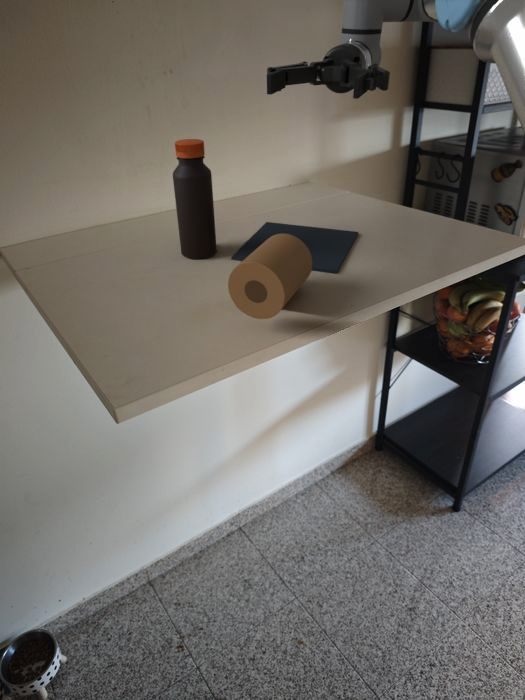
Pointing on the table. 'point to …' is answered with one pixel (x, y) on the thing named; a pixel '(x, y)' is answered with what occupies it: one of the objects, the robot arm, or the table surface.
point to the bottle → (194, 200)
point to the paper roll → (270, 276)
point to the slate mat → (307, 244)
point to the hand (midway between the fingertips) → (311, 86)
